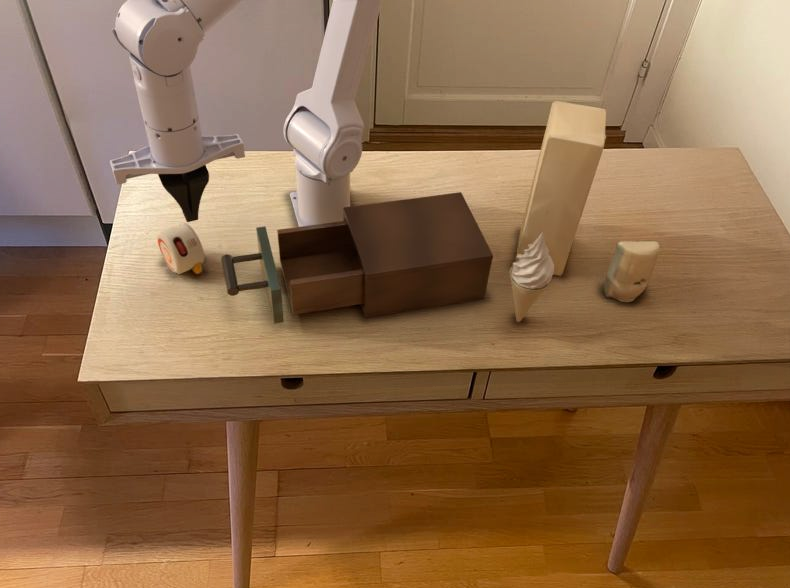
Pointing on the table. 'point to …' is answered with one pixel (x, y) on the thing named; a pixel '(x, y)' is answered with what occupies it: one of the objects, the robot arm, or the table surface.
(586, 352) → the table surface
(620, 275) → the cream stubby rounded block
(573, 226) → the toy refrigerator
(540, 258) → the ice cream cone
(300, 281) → the drawer
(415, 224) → the cabinet
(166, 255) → the roller toy
